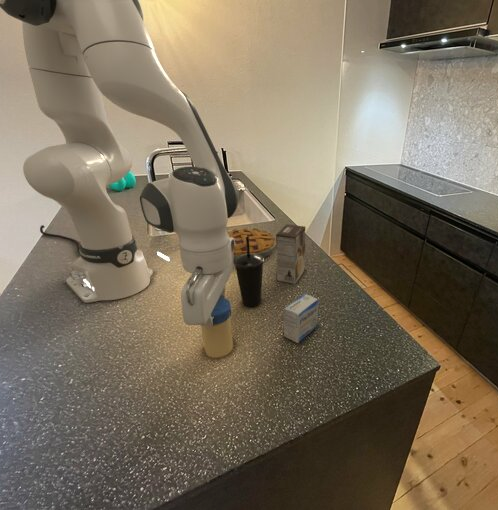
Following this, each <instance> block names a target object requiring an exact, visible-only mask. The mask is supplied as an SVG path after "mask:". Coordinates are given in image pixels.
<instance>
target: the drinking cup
mask: <svg viewBox="0 0 498 510" xmlns="http://www.w3.org/2000/svg"><path fill="white" fill-rule="evenodd" d="M246 245H247V253H245V254H241V255H238V256H237V257H235V258H234V260H233V266H234V268H235V272H236V276H237V282H238V287H239V292H240V297H241V302H242V305H243V306H244V307H245V308H249V309H253V308H257V307H259V306H260V304H261V302H262V285H263V272H264V271H263V269H264V263H265V257H264V258H263V256H261V255H259V254H256V253H250V249H249V237H246Z"/></svg>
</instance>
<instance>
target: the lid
mask: <svg viewBox="0 0 498 510" xmlns="http://www.w3.org/2000/svg"><path fill="white" fill-rule="evenodd" d="M231 315H232V306H231V302H230V300H228V299H227V298H225V299H224V298H219V299H218V301H217V303H216V305H215V307H214V309H213V311H212V313H211V316H214V323H213V324H219V323H222V322H224V321H226V320H227V319H228V318H229V317H230V318H231Z"/></svg>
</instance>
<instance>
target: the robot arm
mask: <svg viewBox="0 0 498 510" xmlns="http://www.w3.org/2000/svg"><path fill="white" fill-rule="evenodd" d="M0 9H1V10H3V12H4V13H6V14H7V15H8V16H10V17H12V18H14V19H16V20H18V21H21V23H22V38H23V45H24V46H23V47H24V51H25V58H26V61H27V66H28V71H29V74H30V78H31V82H32V86H33V90H34V93H35V98H36V102H37V106H38V108H39V111H41V113H43V114H44V116H46V117H47V118H48V119H51V120H52V121H54V123H55V124H56V125H57V126H58V127H59V129H60V131H61V132H62V135H63V137H64V139H65V143H63V144H57V145H52V146H47V147H44V148H42V149H40V150H38V151H37V152H34V153H33V154H31V155H29V156H28V157H26V159H25V160H24V163H23V166H22V170H23V175H24V177H25V180H26V182H27V183H28V184H29V186H30V187H31V188H32V189H33V190H34V191H36V192H37V193H38V194H40V195H41V196H43V197H45V198H48V199H50V200H53V201H55V202H56V203H57V204H58V205H60V207H62V209H63V210H64V211H65V212H66V213H67V215H68V216H69V218H70V220H71V223H72V225H73V227H74V230H75V232H76V235H77V238H78V240H79V241H77V240H76V239H74V238H71V237H67V236H64V235H61V234H54V233H47V232H45V231H44V228H45V225H44V224H41V225H40V227H39V232H40V233H41V235H44V236H48V237H56V238H61V239H64V240H68V241H71V242H72V243H75V244H76V251H77V252H78V254H79V257H78V258H77V259H75V260H74V261H73V263H72V264H71V267H72V271H70V272H69V275H70V276H69V277H67V278H66V279H65V281H66V282H65V284H66V285H67V286H68V287H69V288H70V289H71V291H73V293H75V295H77V297H78V298H79V299H80V300H81V301H82V302H83V303H85V304H91V303H94V302H99V301H114V300H115V301H116V300H120V299H125V298H128V297H132V296H134V295H136V294H138V293H140V292H142V291H144V290H145V289H146V288H147V287H148V286H149V285H150V284H151V277H152V275H153V274H154V270H153V269H152V268H148V264H147V261H146V259H145V256H144V254H143V251H142V250H140V249H138V245H137V241H136V238H135V237H134V235H133V234H132V231H131V226H130V223H129V217H128V215H127V212H126V210H125V209H124V207H122V206H120V205H118V204H115V203H114V201H112V199H111V198H110V196H109V194H108V191H107V186H108V185H110V184H112V183H115V182H117V183H118V181H119V180H121V179H122V178H123V177H124V176H125V175H126V174H127V173H128V172H129V171H130V172H131V169H132V167H133V160H132V156H131V154H130V152H129V151H128V150H127V149H126V147H125V146H123V144H121V143H120V141H118V138H117V137H116V135H115V133H114V131H113V129H112V126H111V123H110V122H109V118H108V115H107V113H106V107H105V101H104V97H105V98H106V99H107V100H108V101H110V102H111V103H112V104H114V105H115V106H117V107H119V108H120V109H122V110H124V111H126V112H128V113H131V114H132V115H136V116H139V117H143V118H145V119H149V120H151V121H154V122H156V123H159V124H161V125H163V126H165V127H166V128H168V129H169V130H171V131H173V132H174V133H175V134H176V135H177V136H178V137H179V138H180V140H181V142H182V144H183V146H184V147H185V151H186V152H187V153H188V155H189V157H190V159H191V161H192V163H193V166H182V167H178V168H176V169H174V170H172V172H171V173H169V176H167V177H166V178H162V179H157V180H154V181H152V182H148V183H147V184H146V185H145V186H144V187H143V189H142V191H141V194H140V196H139V202H140V208H141V211H142V215H143V218H144V219H145V222H146V223H147V224H148V225H149V226H151V227H153V228H156V229H157V230H160V231H162V232H166V233H169V234H172V233H175V234H176V235H177V236H178V247H179V254H180V260H181V264H182V268H183V269H184V271H186V272H187V273H189V274H190V276H189V278H188V279H187V280H186V282H185V283H184V285H183V286H182V288H181V293H180V300H181V312H182V319H183V323H185V324H186V325H188V326H201V325H203V326H204V327H212V326H213V323H214V316H211V313H212V311H213V309H214V307H215V305H216V303H217V301H218V299H219V298H224V299H226V297H225V293H226V286H227V283H228V281H229V279H230V277H231V276H232V274H233V271H234V263H233V249H234V246H235V239H234V238H232V237H229V235H228V233H227V232H228V227H227V225H228V220H229V219H230V218H231V217H232V216H233V215H234V213H235V212H236V210H237V209H238V206H239V203H240V192H239V190H238V187H237V185H236V184H235V181H234V180H233V178H232V177H231V176H230V174H229V173H228V171H227V169H226V168H225V166H224V164H223V163H222V162H223V161H222V160H221V157H220V156H219V154H218V152H217V150H216V147H215V146H214V143H213V141H212V139H211V137H210V135H209V133H208V130H207V128H206V127H205V124H204V123H203V120H202V118H201V117H200V114H199V113H198V111H197V109H196V107H195V105H194V103H193V101H192V100H191V99H190V97H189V96H188V95H187V94H186V93H185V92H184V91H182V90H181V89H179V88H178V86H177V85H176V84H175V83H174V82H173V81H172V79H171V78H170V77H169V75H168V74H167V72H166V71H165V69H164V68H163V66H162V64H161V62H160V60H159V56H158V54H157V51H156V48H155V46H154V43H153V41H152V38H151V35H150V33H149V31H148V28H147V27H146V24H145V22H144V14H143V9H142V6H141V3H140V2H139V0H0ZM103 96H104V97H103ZM124 178H125V177H124ZM108 187H109V186H108ZM156 253H157V256H159V257H160V258H162V259H163V260H165V261H168V262H170V257H169V256H166V255H164V254H163V253H161V252H159V251H157V252H156Z"/></svg>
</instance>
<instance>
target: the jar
mask: <svg viewBox="0 0 498 510" xmlns="http://www.w3.org/2000/svg"><path fill="white" fill-rule="evenodd" d="M200 330H201V336H202V342H203V348H204V352H205V355H206V356H207V357H209V358H214V359H217V358H223V357H226V356H227V355H228V354H230V353H231V352H232V350H233V348H234V340H233V330H232V321H231V316H230V317H229V318H228V319H227V320H226V321H224V322H222V323H219V324H213V326H212V327H204V326H203V325H200Z"/></svg>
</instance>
